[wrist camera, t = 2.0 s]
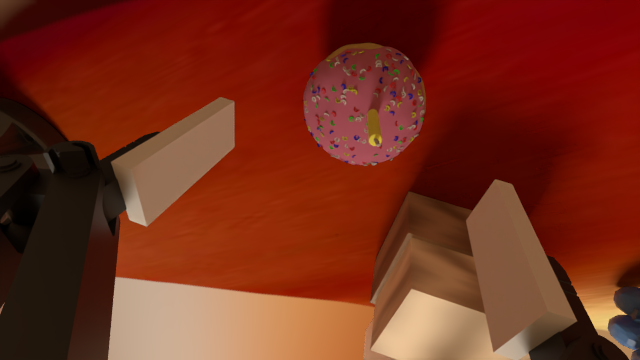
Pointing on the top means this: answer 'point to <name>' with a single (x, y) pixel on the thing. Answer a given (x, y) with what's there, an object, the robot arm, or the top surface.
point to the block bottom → (421, 233)
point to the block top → (432, 308)
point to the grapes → (627, 319)
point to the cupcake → (364, 103)
